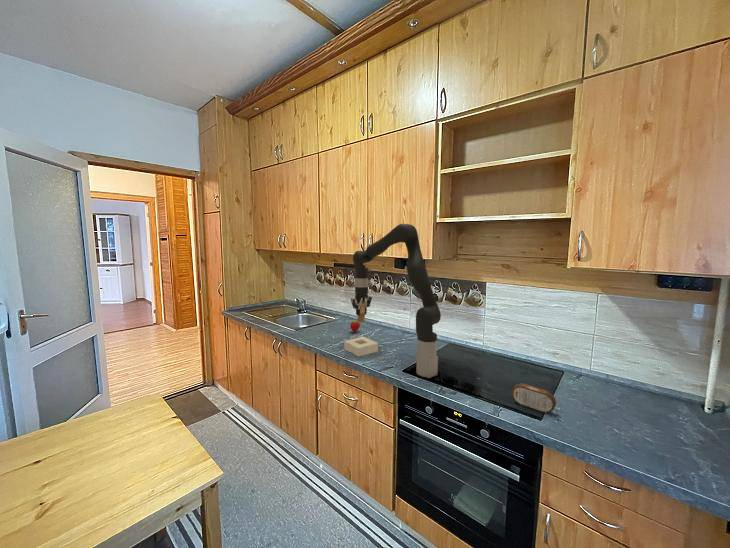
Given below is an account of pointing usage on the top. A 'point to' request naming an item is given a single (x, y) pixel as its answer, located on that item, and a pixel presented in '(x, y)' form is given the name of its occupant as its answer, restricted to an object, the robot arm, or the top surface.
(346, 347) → the socket block
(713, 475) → the top surface
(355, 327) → the strawberry
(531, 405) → the brown rounded slab
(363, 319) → the peg
